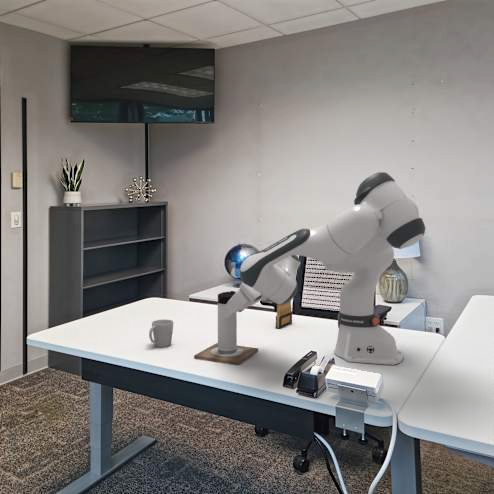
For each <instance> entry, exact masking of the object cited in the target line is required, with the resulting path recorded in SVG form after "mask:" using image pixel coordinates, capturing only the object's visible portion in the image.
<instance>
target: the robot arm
mask: <svg viewBox="0 0 494 494" xmlns="http://www.w3.org/2000/svg"><path fill="white" fill-rule="evenodd" d="M355 195H356V197H355V198H354V199H353V204H354V205H352V206H351V207H349V208H347V209H345V210H343V211H341V212H340V213H339V214H337V215H336V216H334V217H333V218H332V219H330V220H329V221H328V222H326V223H324V224H323V225H320V226H317V227H315V228H314V227H313V228H300V229H298V230H295V231H294V232H292V233H290V234H289V235H287V236H285V237H283V238H282V239H279V240H277V241H276V242H274V243H272V244H271V245H269V246H267V247H266V248H264V249H262V250H260V251H257V252H254V253H252V254H250V255H248V256H247V257H246V258H245V259H244V260H243V261H242V263H241V265H240V266H239V275H240V280H241V282H242V283H241V284H240V285H239V286H238V287H239V289H238V290H237V291H235V292H236V293H235V294H234V295H233V296H232V298H231V299H230V300H229V301H228V302H227V304H226V308H227V309H228V310H227V312H226V313H225V314H224V316H225V318H229V317H230V316H231V315H232V314H234V313H236V312H237V313H242V312H243V311H244V310H246V309H247V308H249V307H251V306H253V305H255V304H257V303H259V302H260V301H266V300H267V299H269V300H271V301H272V302H273V303H275V304H276V305H277V304H285V303H287V302H289V301H290V300H291V301H292V300H293V299H294V298H295V296H296V295H297V294H298V289H299V288H298V281H297V279H296V276H297V271H298V268H300V265H301V259H300V258H299V256H302V257H304V258H305V257H306V258H309V259H313V260H315V261H318V262H320V263H322V265H323V267H324V268H325V269H326V270H327V271H329V272H334V273H340V274H344V273H353V274H352V277H351V278H350V280H349V281H347V282H346V283H345V284H343V286H342V287H341V288H340V292H339V311H338V313H337V314H338V315H337V328H338V331H337V337H336V338H337V340H336V343H335V347H334V350H333V352H334V355H335V356H337V357H340V358H342V359H344V360H345V361H346V362H349V363H360V364H361V363H362V364H376V365H387V366H388V365H392V366H395V364H396V365H399V364H400V363H402V362H403V360H404V353H403V352H402V351H401V350H400V349H397V348H398V347H397V342H396V339H395V337H394V336H393V335H392V334H391V333H389V332H388V331H387V330H386V329H385V328H384V327H382V326H381V325H380V322H381V321H380V320H381V319H380V315H379V314H378V315H377V314H376V313H375V312H374V305H375V304H374V303H375V294H376V293H375V292H376V288H377V285H378V282H379V280H380V278H381V277H382V274H384V272H385V271H386V270H387V269H388V268H389V267H390V266H391V265H392V264H393V261H394V258H395V251H394V248H395V249H399V250H400V249H401V250H402V249H405V248H409V247H412V246H414V245H416V244H417V243H418V242H419V241H420V240H421V239H422V238H423V236H424V235H425V233H426V226H425V223H424V222H425V221H423V218H422V217H420V216H419V213H420V212H419V207H418V206H417V204H416V202H414V201H413V200H412V199H411V198H409V197H408V196H407V195H406V193H405V192H404V191H403V190H402V189H401V187H400V186H399V185H398V184H397V183H396V180H395V179H394V178H393V177H392V176H391V175H390V174H388V173H387V172H384V171H383V172H382V171H381V172H376V173H373V174H371V175H369V176H368V177H366V178H365V179H364V180H362V182H361V183H359V185H358V187H357V191H356V193H355ZM401 361H402V362H401ZM398 363H399V364H398Z"/></svg>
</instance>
